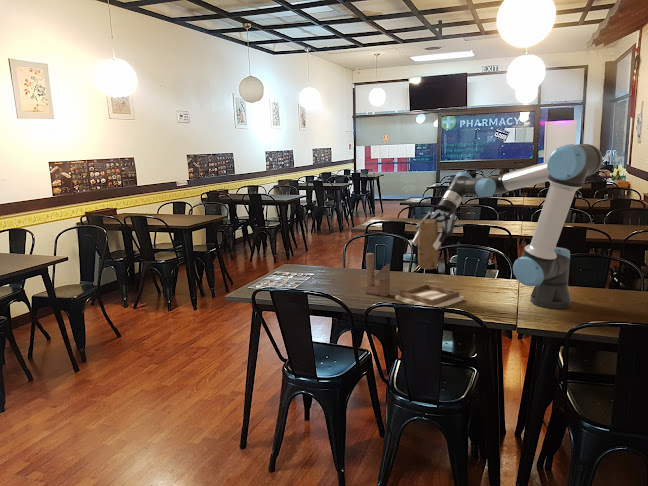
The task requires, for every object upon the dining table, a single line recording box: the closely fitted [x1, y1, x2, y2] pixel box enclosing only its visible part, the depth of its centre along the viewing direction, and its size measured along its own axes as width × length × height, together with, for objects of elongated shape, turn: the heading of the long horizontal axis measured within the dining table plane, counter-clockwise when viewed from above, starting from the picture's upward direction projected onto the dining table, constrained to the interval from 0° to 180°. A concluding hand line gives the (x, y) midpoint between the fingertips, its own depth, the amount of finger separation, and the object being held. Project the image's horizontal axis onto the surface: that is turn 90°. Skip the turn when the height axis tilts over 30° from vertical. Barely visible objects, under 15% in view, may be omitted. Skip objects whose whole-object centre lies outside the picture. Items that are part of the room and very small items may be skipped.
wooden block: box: [364, 252, 391, 297], centre depth 215 cm, size 4×11×18 cm, turn 56°
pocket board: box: [395, 283, 465, 308], centre depth 206 cm, size 20×20×4 cm
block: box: [417, 218, 439, 270], centre depth 203 cm, size 11×8×20 cm
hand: (424, 245), depth 201 cm, fingers closed on block, 10 cm apart
